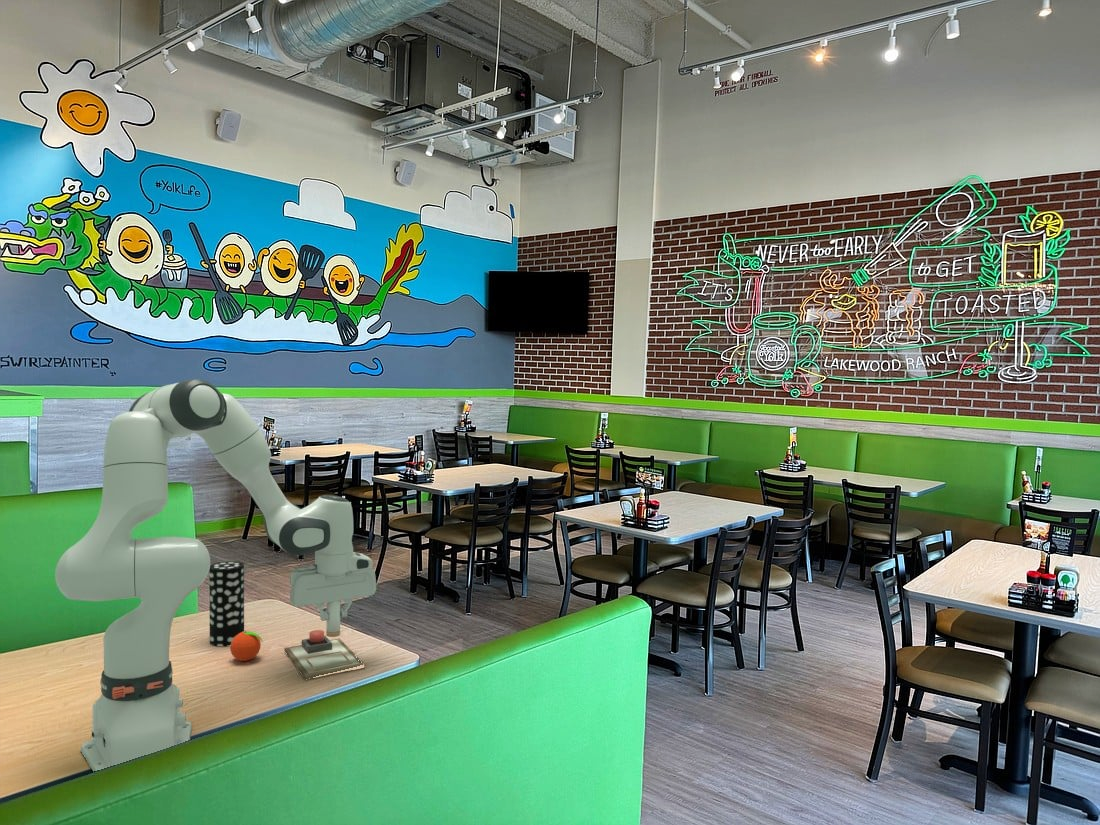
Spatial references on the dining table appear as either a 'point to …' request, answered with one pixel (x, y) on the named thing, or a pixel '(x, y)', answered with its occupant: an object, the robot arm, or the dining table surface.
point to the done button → (316, 636)
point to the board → (322, 657)
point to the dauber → (333, 619)
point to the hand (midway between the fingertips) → (333, 618)
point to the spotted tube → (226, 601)
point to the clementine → (245, 645)
